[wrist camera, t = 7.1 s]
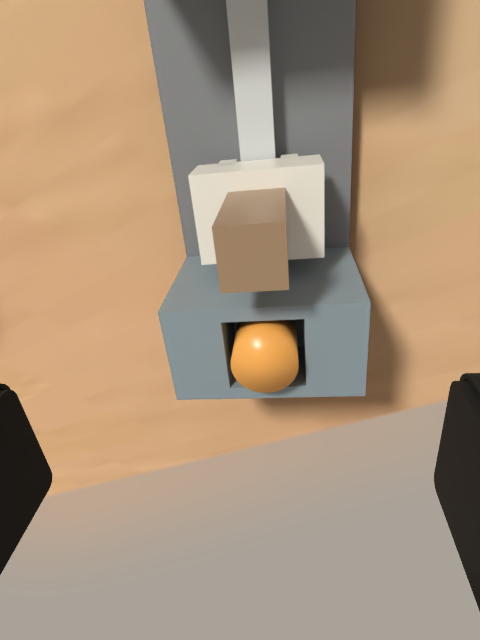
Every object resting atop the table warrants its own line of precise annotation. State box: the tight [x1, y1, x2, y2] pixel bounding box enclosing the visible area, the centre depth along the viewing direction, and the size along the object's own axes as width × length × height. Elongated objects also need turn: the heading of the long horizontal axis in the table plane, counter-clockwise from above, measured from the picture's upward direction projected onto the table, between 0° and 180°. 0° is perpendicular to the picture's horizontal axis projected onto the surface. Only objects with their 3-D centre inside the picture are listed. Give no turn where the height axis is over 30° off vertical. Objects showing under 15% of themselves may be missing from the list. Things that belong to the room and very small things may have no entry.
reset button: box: [231, 320, 299, 393], centre depth 24 cm, size 4×4×3 cm
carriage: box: [188, 154, 324, 293], centre depth 22 cm, size 7×5×10 cm
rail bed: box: [144, 0, 371, 400], centre depth 22 cm, size 12×29×10 cm, turn 5°
